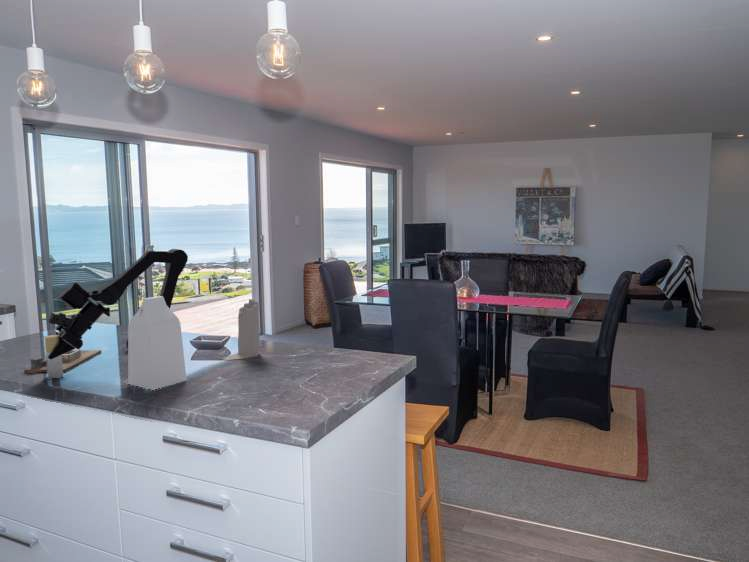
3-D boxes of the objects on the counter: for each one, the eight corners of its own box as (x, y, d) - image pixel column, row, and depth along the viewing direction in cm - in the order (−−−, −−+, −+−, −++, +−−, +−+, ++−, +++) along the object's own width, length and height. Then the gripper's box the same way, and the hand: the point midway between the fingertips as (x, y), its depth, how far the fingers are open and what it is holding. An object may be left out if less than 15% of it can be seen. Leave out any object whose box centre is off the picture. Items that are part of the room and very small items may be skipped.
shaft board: (101, 352, 209) (100, 342, 209) (65, 372, 183) (64, 360, 183) (65, 353, 209) (64, 342, 208) (24, 373, 183) (23, 360, 182)
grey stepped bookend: (218, 357, 201) (216, 302, 199) (253, 351, 210) (252, 298, 208) (228, 361, 196) (226, 304, 194) (263, 355, 205) (262, 300, 203)
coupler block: (61, 374, 181) (58, 334, 179) (63, 377, 178) (60, 336, 176) (47, 376, 179) (44, 336, 177) (48, 379, 175) (45, 338, 174)
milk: (152, 390, 164) (148, 301, 161) (128, 384, 170) (123, 298, 167) (186, 380, 174) (182, 296, 171) (162, 374, 180) (158, 293, 177)
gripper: (60, 298, 185) (23, 336, 180) (68, 306, 170) (27, 347, 165) (89, 319, 191) (53, 356, 186) (98, 329, 175) (60, 369, 170)
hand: (48, 357), depth 176 cm, fingers closed on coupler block, 4 cm apart
